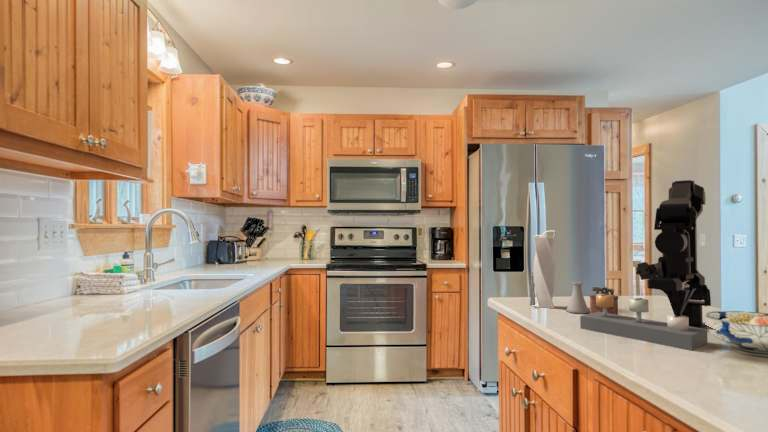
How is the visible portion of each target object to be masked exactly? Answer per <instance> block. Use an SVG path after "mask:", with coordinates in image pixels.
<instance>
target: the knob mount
mask: <svg viewBox="0 0 768 432" xmlns="http://www.w3.org/2000/svg"><path fill="white" fill-rule="evenodd" d="M579 319H580V329H583V330H587V331H592V332H597V333H603V334H606V335H612V336H617V337H622V338H626V339H632V340H638V341H643V342H648V343H653V344H657V345H661V346H666V347H673V348H677V349H681V350H686V351H687V350H688V351H694V350H697V349H698V348H701V347H704V346H705V345H707V344H708V343H709V341H708V329H707V328H703V327H701V328H697V327H691V326H689V330H688V331H678V330H672V329H669V328H667V321H666V322H665V321H659V320H652V319H646V318H641V319H642V323H637V317H633V316H627V315H622V314H618V315H616V314H610V313H607V317H603V312H595V313H591V314H590V313H585V314H583V315H580V318H579ZM706 329H707V330H706Z"/></svg>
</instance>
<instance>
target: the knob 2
mask: <svg viewBox="0 0 768 432" xmlns="http://www.w3.org/2000/svg"><path fill="white" fill-rule="evenodd" d="M666 323H667V328H669V329H672V330H678V331H688V330H689V317H687V316H682V315H681V316H675V315H674V314H667V315H666Z"/></svg>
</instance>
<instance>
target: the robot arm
mask: <svg viewBox="0 0 768 432" xmlns="http://www.w3.org/2000/svg"><path fill="white" fill-rule="evenodd" d="M667 198H668V199H665V200H663V201H662V202H661V203H660V204H659V207H657V208H656V210H655V219H654V227H653V228H654V231H661V232H660V233H659V234H658V235H657V236H656V237H655V240H654V246H655V248H656V249H657V250H658V252H659V253H661V255H662V256H659V257H658V258H657V262H656V263H653V264H652V263H651V264H649V263H648V262H646V261H643V262H639V263H637V265H636V266H637V267H636V271H635V274H636V275H638V276H639V277H640V279H641V280H642V281H644V280H647V289H651V290H659V291H662V292H663V293H664V294H665V295H666V296H667V298H668V301H669V303H670V306H671V309H672V312H673V315H675V316H681V315H682V316H687V317H689V326H691V327H697V328H703V327H706V326H705V323H706V322H703V319H704V318H703V306H704V307H708V306H709V307H711V306H712V303H711V301H712V300H711V298H712V297H711V290H710V288H709V287H708V285H707V284H706V281H705V279H706V278H705V276H704V275H703V274H702V273H700V271H699V270H698V242H697V241H698V239H697V237H698V235H697V234H698V233H697V222H698V221H697V219H698V218H699V217H700V215H701V214H702V212H703V210H704V206H705V205H706V192H705V188H704V187H703V186H702V185H701V186H700V185H699V184H696V183H695V180H691V179H689V180H688V179H687V180H686V179H685V180H675V181H673V182H671V187H670V188H669V189H668V197H667Z"/></svg>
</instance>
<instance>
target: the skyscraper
mask: <svg viewBox="0 0 768 432" xmlns="http://www.w3.org/2000/svg"><path fill="white" fill-rule="evenodd" d="M551 232H553V235H552V236H549V234H547V233H551ZM556 232H557V231H556V230H553V229H550V230H546V231H544V232H543V233H542V234H535V235H533V237H532V239H533V243H534V246H535V247H534V248H535V255H534V261H533V271H531V276H530V278H531V281H530V302H529V305H530V307H532V308H533V307H534V308H533V309H539V308H550V309H553V310H554V309H556V307H555V305H554V302H553V297H554V291H555V286H556V285H555V284H556V283H555V282H556V265H555V258H554V254H553V248H554V247H553V246H554V242H555V241H554V239H555V236H556ZM535 304H536V306H532V305H535Z"/></svg>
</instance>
